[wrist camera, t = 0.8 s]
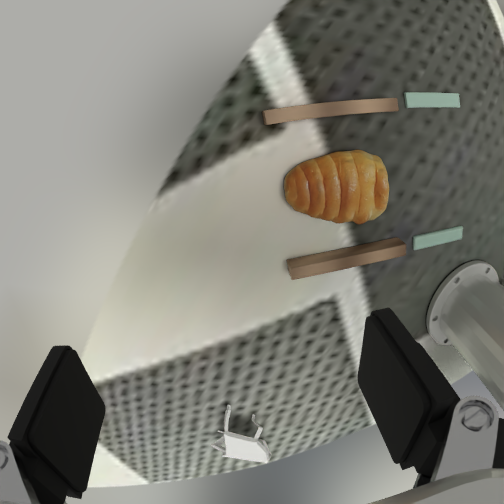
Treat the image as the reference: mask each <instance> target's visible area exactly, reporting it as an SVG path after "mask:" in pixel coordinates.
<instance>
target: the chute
mask: <svg viewBox="0 0 504 504" xmlns="http://www.w3.org/2000/svg"><path fill="white" fill-rule="evenodd" d="M388 111H399V110H398V102H397V98H384V99H364V100H350V101H338V102H327V103H317V104H308V105H300V106H292V107H285V108H278V109H271V110H265V111H262V115H263V121H264V125H269V124H275V123H282V122H288V121H295V120H303V119H311V118H319V117H328V116H337V115H347V114H359V113H372V112H388ZM405 255H406V244H405V243H404V242H403V241H401V240H400V239H399V238H398V237H396V238H391V239H386V240H382V241H377V242H372V243H367V244H362V245H357V246H353V247H348V248H343V249H338V250H333V251H328V252H323V253H318V254H313V255H308V256H303V257H298V258H293V259H288V260H287V265H288V271H289V274H290V276H291V279H292V280H295V279H299V278H304V277H309V276H314V275H319V274H324V273H328V272H333V271H338V270H342V269H347V268H351V267H356V266H361V265H365V264H370V263H374V262H378V261H383V260H387V259H392V258H396V257H400V256H405Z"/></svg>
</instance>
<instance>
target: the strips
mask: <svg viewBox="0 0 504 504" xmlns="http://www.w3.org/2000/svg"><path fill="white" fill-rule="evenodd" d="M404 98H405V106H406V108H411V107H460V102H459V94H455V93H404ZM462 230H463V227H462V226H457V227H452V228H448V229H443V230H439V231H434V232H430V233H425V234H420V235H416V236H413V250H418V249H422V248H426V247H430V246H434V245H439V244H443V243H447V242H451V241H455V240H459V239H462Z"/></svg>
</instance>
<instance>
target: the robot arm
mask: <svg viewBox="0 0 504 504" xmlns="http://www.w3.org/2000/svg"><path fill="white" fill-rule="evenodd" d="M426 325H427V330H428V332H429V334H430V336H431V337H432V338H433V339H434V341H435V342H437V343H438V344H441V345H453V346H454V347H455V348H456V349H457V351H458V352H459V353H460V354H461V355H462V357H463V358H464V359H465V360H466V362H467V363H468V364H469V366H470V367H471V368H472V369H473V371H475V373H476V374H477V376H478V377H479V378H480V380H481V381H482V382H483V384H484V385H485V386H486V388H487V389H488V390H489V392H490V393H491V394H492V396H493V397H494V398H495V400H496V401H497V403H498V404H499V405H500V407H501V408H502V409H503V411H504V286H502V285H501V284H500V283H499V278H498V274H497V272H496V270H495V269H494V268H493V267H492V266H491V265H489V264H488V263H486V262H484V261H480V260H476V261H471V262H467V263H465V264H463V265H461V266H460V267H458V268H457V269H456V270H454V271H453V272H452V273H451V274H450V275H449V276H448V277H447V278H446V279H445V280H444V281H443V282H442V284H441V285H440V286H439V288H438V289H437V291H436V293H435V294H434V296H433V298H432V300H431V303H430V306H429V309H428V312H427V318H426ZM358 384H359V387H360V389H361V391H362V393H363V395H364V397H365V399H366V402H367V404H368V406H369V408H370V410H371V412H372V415H373V417H374V419H375V421H376V423H377V426H378V428H379V430H380V432H381V434H382V437H383V439H384V441H385V443H386V446H387V448H388V450H389V453H390V455H391V457H392V459H393V461H394V463H396V464H398V463H400V466H401V468H402V470H404V469H407V468H410V467H412V466H414V467H415V469H416V471H417V473H418V476H417V479H416V481H415V484H414V487H413V489H411V490H408V491H406V492H403V493H400V494H397V495H394V496H391V497H388V498H385V499H382V500H379V501H375V502H372V503H369V504H504V419H502V418H499V417H498V411H497V409H496V407H495V406H494V405H493V403H492V402H491V401H489V400H487V399H486V398H483V397H480V396H469V397H466V398H464V399H462V400H460V398H459V397H458V395H457V394H456V392H455V391H454V390H453V388H452V387H451V385H450V384H449V382H448V381H447V380H446V378H445V377H444V375H443V374H442V373H441V371H440V370H439V368H438V367H437V366H436V364H435V363H434V362H433V360H432V359H431V357H430V356H429V355H428V353H427V352H426V351H425V349H424V348H423V347H422V346H421V345H420V344H419V343H417V342H416V341H415V340H414V338H413V337H412V336H411V334H410V333H409V332H408V330H407V329H406V328H405V326H404V325H403V324H402V323H401V321H400V320H399V319H398V317H397V316H396V315H395V314H394V312H393V311H392V310H391V309H390V308H385V309H380V310H375V311H372V312H371V315H370V316H368V317H367V318H366V322H365V330H364V337H363V345H362V352H361V358H360V365H359V371H358ZM104 415H105V405H104V402H103V401H102V399H101V397H100V395H99V394H98V392H97V390H96V388H95V386H94V385H93V383H92V381H91V379H90V377H89V375H88V373H87V372H86V370H85V368H84V366H83V364H82V362H81V360H80V358H79V356H78V354H77V352H76V351H75V350H73V349H72V348H71V347H70V346H53V348H52V349H51V351H50V352H49V354H48V356H47V358H46V360H45V361H44V363H43V365H42V367H41V369H40V371H39V373H38V374H37V376H36V378H35V380H34V382H33V384H32V386H31V388H30V390H29V392H28V394H27V396H26V398H25V400H24V402H23V404H22V406H21V409H20V411H19V413H18V415H17V417H16V419H15V422H14V424H13V426H12V428H11V430H10V433H9V435H8V439H9V440H10V441H11V442H10V444H9V445H8V444H7V443H6V442H4V441H0V504H67V503H66V502H65V499H66V495H67V496H68V497H73V498H79V499H81V498H82V493H83V492H84V491H86V489H87V485H88V481H89V476H90V471H91V467H92V463H93V458H94V454H95V450H96V446H97V442H98V438H99V434H100V430H101V426H102V423H103V419H104Z"/></svg>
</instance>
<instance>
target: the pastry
mask: <svg viewBox="0 0 504 504" xmlns="http://www.w3.org/2000/svg"><path fill="white" fill-rule="evenodd" d="M284 190H285V198H286V200H287V202H288V203H289V204H290V205H291V206H292V207H293V209H294V210H295V211H298V212H301V213H305V214H308V215H309V216H311V217H314V218H321V219H323V220H327V221H332V222H335V223H344V222H350V221H354V222H355V223H356V224H363V223H365V222H366V221H368V220H374V219H375V218H377V217H378V216H380V215H381V213H383V212H384V211H385V209H386V207H387V202H388V196H389V183H388V175H387V171H386V168H385V166H384V164H383V162H382V160H381V158H379V157H378V156H376V155H371V154H368V153H367V152H364V151H362V150H352V151H343V152H334V153H331V154H328V155H324V156H321V157H318V158H314V159H311V160H308V161H305V162H302V163H300V164H299V165H297V166H296V167H295V168H293V169H292V170H290V171H289V173H288V174H287V175H286V177H285V179H284Z"/></svg>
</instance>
